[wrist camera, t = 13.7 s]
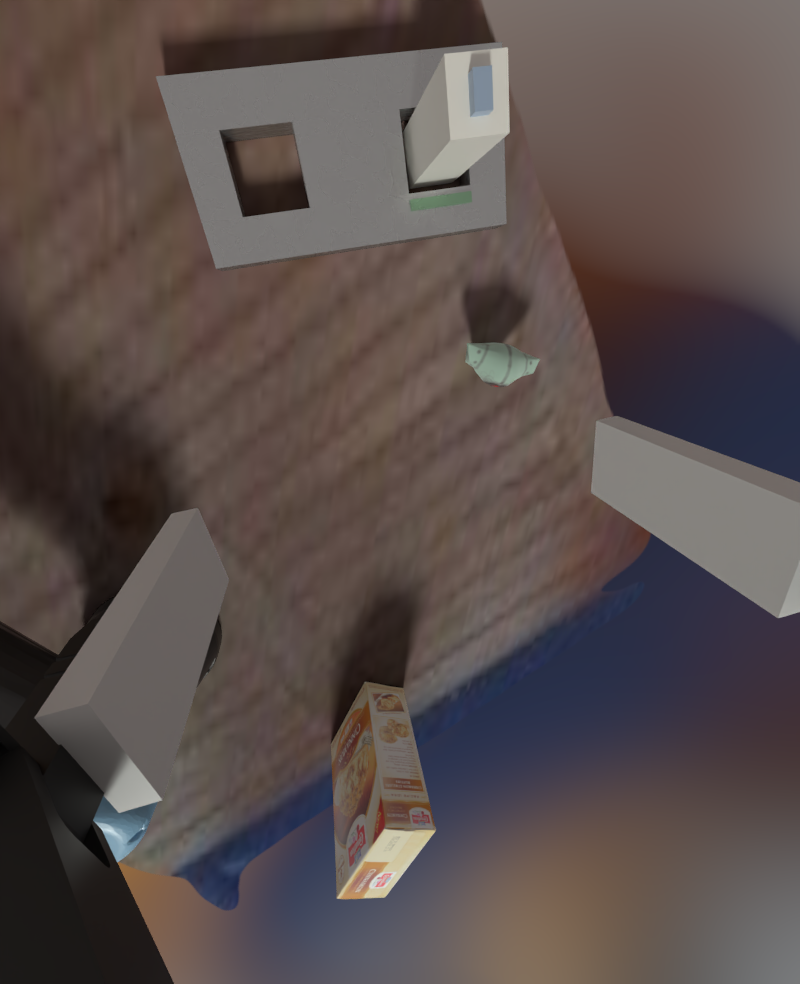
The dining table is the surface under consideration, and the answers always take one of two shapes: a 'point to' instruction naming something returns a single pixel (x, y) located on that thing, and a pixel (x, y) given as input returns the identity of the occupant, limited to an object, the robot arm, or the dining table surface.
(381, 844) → the coffeecake box
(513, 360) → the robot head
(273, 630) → the dining table surface
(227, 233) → the panel
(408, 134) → the plug
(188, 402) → the dining table surface
